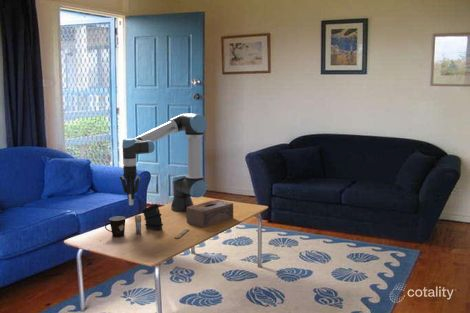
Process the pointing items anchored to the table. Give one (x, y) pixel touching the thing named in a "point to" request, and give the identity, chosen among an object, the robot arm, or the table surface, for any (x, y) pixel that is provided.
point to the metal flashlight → (138, 224)
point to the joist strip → (181, 234)
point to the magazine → (153, 217)
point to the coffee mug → (117, 226)
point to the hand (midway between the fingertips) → (131, 204)
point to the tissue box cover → (209, 213)
